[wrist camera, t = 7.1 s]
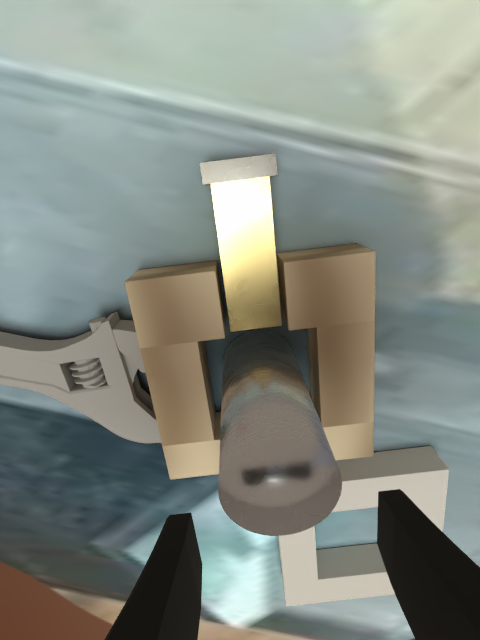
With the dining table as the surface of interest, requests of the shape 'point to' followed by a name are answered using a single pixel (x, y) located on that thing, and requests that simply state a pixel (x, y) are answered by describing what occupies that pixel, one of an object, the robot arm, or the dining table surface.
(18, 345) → the adjustable wrench
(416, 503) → the white square frame
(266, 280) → the key
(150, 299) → the socket block
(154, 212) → the dining table surface
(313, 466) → the grey cylinder
